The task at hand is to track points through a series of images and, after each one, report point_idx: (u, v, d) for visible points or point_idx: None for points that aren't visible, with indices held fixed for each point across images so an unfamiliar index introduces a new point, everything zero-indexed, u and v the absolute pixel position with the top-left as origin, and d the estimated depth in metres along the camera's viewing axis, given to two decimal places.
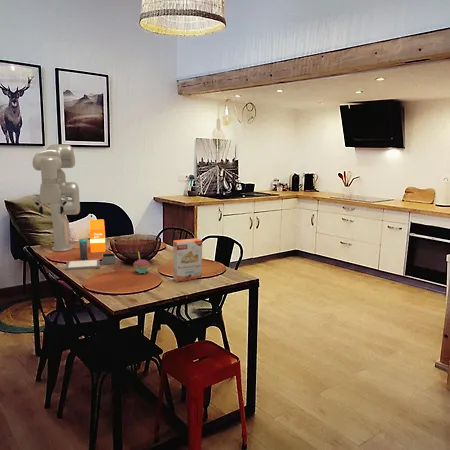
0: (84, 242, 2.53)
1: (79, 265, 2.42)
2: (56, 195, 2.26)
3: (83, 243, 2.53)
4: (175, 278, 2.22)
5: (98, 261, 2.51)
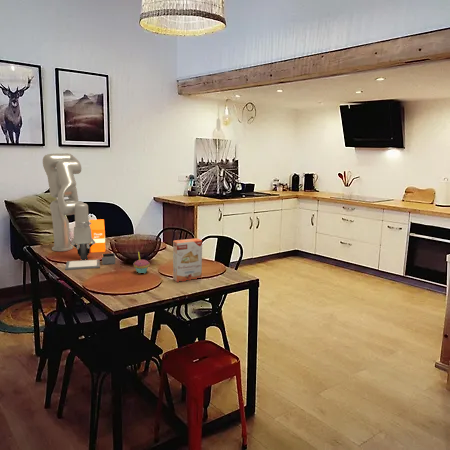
0: None
1: (79, 265, 2.42)
2: (88, 236, 2.53)
3: (83, 243, 2.53)
4: (175, 278, 2.22)
5: (98, 261, 2.51)
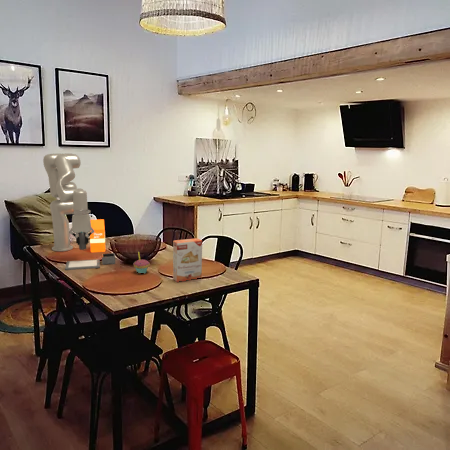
0: None
1: (79, 265, 2.42)
2: (87, 225, 2.43)
3: (82, 232, 2.44)
4: (175, 278, 2.22)
5: (98, 261, 2.51)
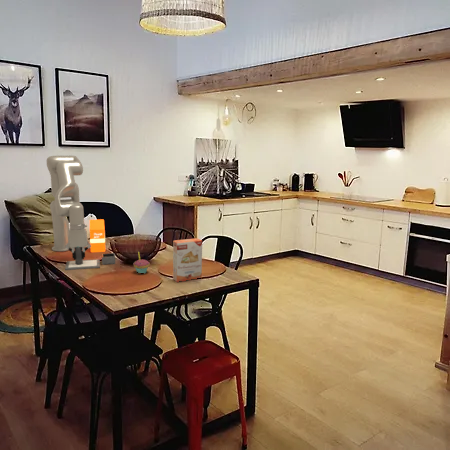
0: None
1: (79, 265, 2.42)
2: (83, 240, 2.41)
3: (78, 246, 2.41)
4: (175, 278, 2.22)
5: (98, 261, 2.51)
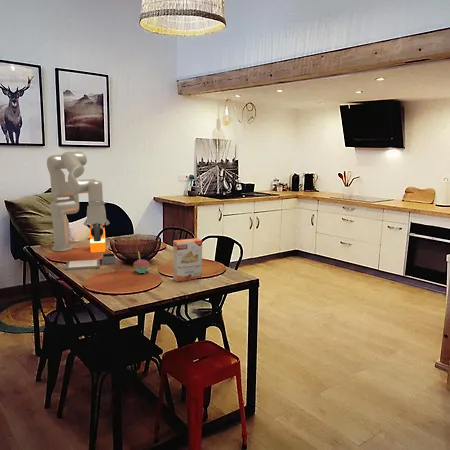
0: None
1: (79, 265, 2.42)
2: (102, 216, 2.39)
3: (97, 223, 2.39)
4: (175, 278, 2.22)
5: (98, 261, 2.51)
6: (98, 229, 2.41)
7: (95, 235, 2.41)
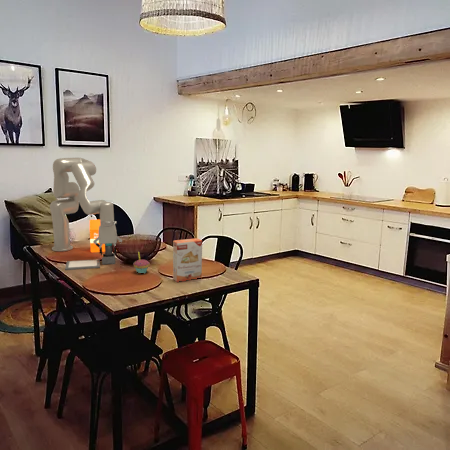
0: (110, 244, 2.48)
1: (79, 265, 2.42)
2: (113, 236, 2.47)
3: (109, 245, 2.48)
4: (175, 278, 2.22)
5: (98, 261, 2.51)
6: (110, 251, 2.49)
7: (107, 256, 2.49)
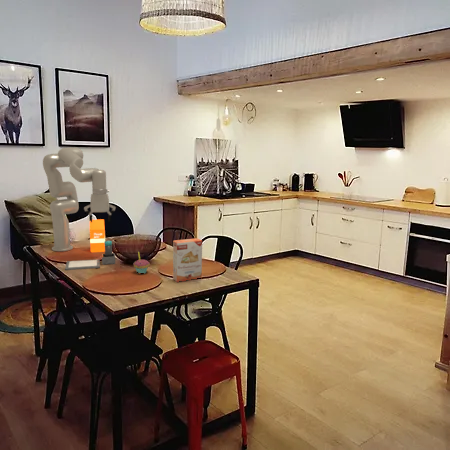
0: (109, 244, 2.48)
1: (79, 265, 2.42)
2: (105, 204, 2.45)
3: (108, 245, 2.48)
4: (175, 278, 2.22)
5: (98, 261, 2.51)
6: (110, 251, 2.49)
7: (107, 256, 2.49)
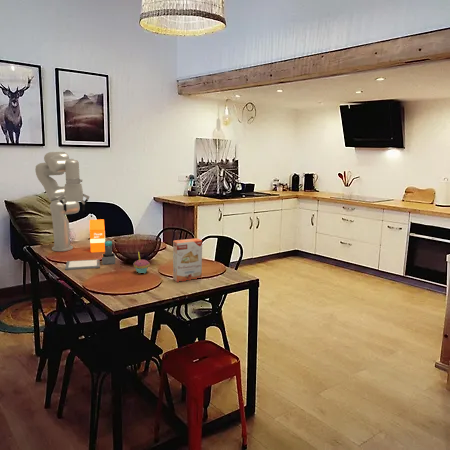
0: (110, 244, 2.47)
1: (79, 265, 2.42)
2: (79, 194, 2.50)
3: (109, 245, 2.47)
4: (175, 278, 2.22)
5: (98, 261, 2.51)
6: (110, 251, 2.48)
7: None
